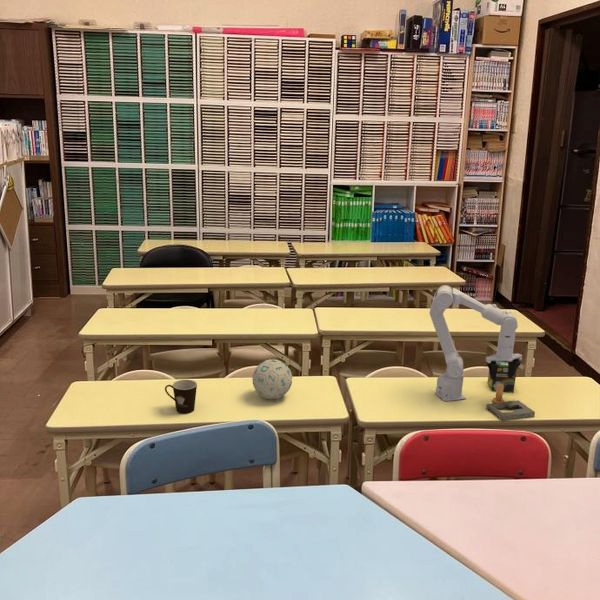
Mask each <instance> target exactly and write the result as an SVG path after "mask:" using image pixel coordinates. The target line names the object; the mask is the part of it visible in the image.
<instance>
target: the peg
mask: <svg viewBox="0 0 600 600" xmlns="http://www.w3.org/2000/svg"><path fill="white" fill-rule="evenodd" d="M503 387H504V386H503V385H501V384H498V385H497V390H496V391H495V397H493V398H492V400H491V401H492V403H499V402H505V399H503V394H504V392H503Z"/></svg>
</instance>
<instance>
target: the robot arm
mask: <svg viewBox="0 0 600 600" xmlns="http://www.w3.org/2000/svg"><path fill="white" fill-rule="evenodd" d="M452 304H453V306H458V305H463V306H465V307H468V308H470V309H472V310H474V311H476V312H478V313H480V314H481V317H482V318H484V319H485V320H487V321H489V322H490V323H492V324H495V325H496V326H500V331H499V332H498V341H497V348H496V353H495V354H491V355H489V356H487V355H486V357H485V363H486V365H487V368H488V372H489V371H490V379H492V380H495V379H496V373H497V370H498V367H499V365H497V363H496V362H498V361H508V377H509V378H511V379H512V378H513V375H514V373H515V371H516V369H517V370H518V368H519V367H520V366H521V364H522V361H523V355H522V354H520V353H514V348H515V347H514V346H515V341H516V331H517V329H518V327H519V325H518V320H517V317H516V316H515V314H514V313H513V312H511V311H507V310H503V309H501V308H499V307H498V306H497V304H495V303H493V304H491V303H487V304H484V303H482V302H480V301H478V300H477V299H475V298H473V297H472V296H470V295H468V294H466V293H464V292H462V291H460V290H459V289H457V288H455V287H451V286H450V285H448V284H445V285H441V286H439V288H437V290H436V291H435V293H434V296H433V299H432V301H431V305H430V309H429V316H430V318H431V322H432V324H433V328H434V330H435V333H436V335H437V338H438V341H439V344H440V346H441V349H442V352H443V355H444V360H445V363H446V369H445V372H444V374H442V375H439V376H438V377H437V379H436V389H435V391H434V393H435V394H436V396H438V397H439V398H440V399H441V400H442V401H444V402H451V401H457V400H458V401H459V400H466V399H467V397H466V396H465V395H463V385H464V378H465V377H464V376H465V374H464V371H465V370H464V359H463V358H462V357H461V356H460V354H459V353H458V351H457V349H456V346H455V344H454V340H453V338H452V335H451V333H450V330H449V327H448V324H447V321H446V318H445V315H444V313H445V311H446V310H447V309H448V307H451V305H452ZM516 372H517V371H516Z"/></svg>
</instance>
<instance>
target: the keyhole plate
mask: <svg viewBox="0 0 600 600" xmlns="http://www.w3.org/2000/svg"><path fill="white" fill-rule="evenodd" d="M513 408H518V409H514V410H513V411H507V412H502V411H501V410H503V409H504V410H505V409H513ZM485 410H487V411H492V412H493V413H495V414H496V415H498V416H499V417H498V420H500V421H501V422H505V421H510V420H520V419H521V420H522V419H527V418H534V417H535V414H536V411H535V410H533V409H532V408H530V407H529V406H527V405H526V404H525V403H523V402H521V401H520V400H511V401H509V400H508V401H504V402H499V403H493V402H492V403H486V405H485Z"/></svg>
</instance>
